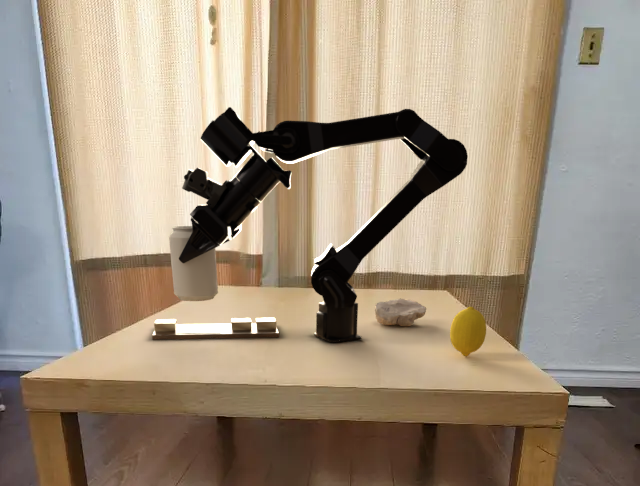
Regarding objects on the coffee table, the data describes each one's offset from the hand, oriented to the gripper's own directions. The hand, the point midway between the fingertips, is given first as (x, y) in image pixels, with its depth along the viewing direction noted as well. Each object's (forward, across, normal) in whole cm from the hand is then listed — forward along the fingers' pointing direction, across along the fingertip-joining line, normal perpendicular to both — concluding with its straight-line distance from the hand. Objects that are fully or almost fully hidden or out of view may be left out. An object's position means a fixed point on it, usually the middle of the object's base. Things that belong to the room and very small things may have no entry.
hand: (185, 258), depth 98 cm
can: (+4, 0, +6) cm, 7 cm away
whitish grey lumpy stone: (-18, -14, +37) cm, 44 cm away
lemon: (-23, +12, +42) cm, 50 cm away
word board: (+7, -3, +12) cm, 14 cm away
